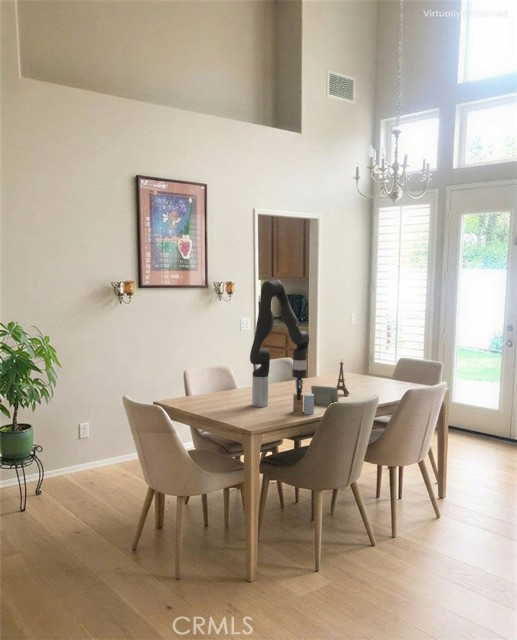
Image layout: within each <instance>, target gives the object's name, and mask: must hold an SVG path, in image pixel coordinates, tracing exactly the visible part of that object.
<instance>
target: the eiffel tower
mask: <svg viewBox="0 0 517 640" xmlns="http://www.w3.org/2000/svg"><path fill="white" fill-rule="evenodd" d="M339 365H340V367H339V374H338V375H339V376H338V379H337V385H336V387H335V388H337V390H338V391H339V390H340V391H343V397H346V398H347V397H349V395H351V394H350V392H349V390H348V389H347V387H346V384H345V377H344V369H343V368H344V366H343V365H344V362H343V360H341V362H339ZM340 384H341V385H340Z"/></svg>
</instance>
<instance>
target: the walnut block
mask: <svg viewBox="0 0 517 640" xmlns="http://www.w3.org/2000/svg"><path fill="white" fill-rule="evenodd" d="M292 395H293V405H292V412H293V414H303V413H304V394H303V393H301V400H297V393H293V394H292Z"/></svg>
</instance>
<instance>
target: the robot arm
mask: <svg viewBox="0 0 517 640" xmlns="http://www.w3.org/2000/svg"><path fill="white" fill-rule="evenodd" d="M260 289H261V291H260V302H259V309H258V310H259V311H258V316H257V320H256V326H255V333H254V337H253V342H252V345H251V349H250V354H249V362H250V363H251V364H252V365H254V366H255V365H256V366H257V365H260V366H259V367H258V368H256V369H254V370H253V371H252V391H251V392H252V394H251V397H252V399H251V405H252V406H253V407H256V408H257V407H258V408H265V407H268V406H269V373H270V363H271V353H270V350H269V349H268V348H266V347H265V348H261V346H262V345H263V343H264V342H265V340H266V339H267V338H268V336H270V335H271V332H272V331H273V328H274V327H273V326H274V323H275V321H274V320H275V318H274V314H273V311H272V299H273V298H274V297H276V299H277V300H278V302H279V305H280V314H281V318H282V319H281V320H282V321H283V322H284V324H285V326H286V328H287V332H288V334H289V338H290V340H291V341H292V342H293V343H292V344H294V345H296V347H295V349H294V350H293V355H292V356H293V357H292V377H293V378H296V379H295V388H296V389H295V390H296V392H295V393H296V394H297V400H301V394H303V387H304V385H303V384H304V380H303V378H307V369H308V368H307V365H308V363H307V352H308V349H309V348H308V347H309V343H310V335H309V333H308V332H307V331H306V330H300V328H299V326H300V321H299V320H298V318H297V316H296V314H295V312H294V311H293V308H292V306H291V303H290V300H289V297H288V295H287V293H286V290H285V286H284V285H283V282H282V281H280V280H279V279H271V280H270V279H269V280H266V281H264V282H263V283H262V285H261V287H260Z"/></svg>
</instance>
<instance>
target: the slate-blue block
mask: <svg viewBox="0 0 517 640" xmlns="http://www.w3.org/2000/svg"><path fill="white" fill-rule="evenodd" d="M314 407H315V402H314V394H312V393H304V394H303V413H304V414H309V415H314V414H315V412H314V411H315V408H314Z"/></svg>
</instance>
